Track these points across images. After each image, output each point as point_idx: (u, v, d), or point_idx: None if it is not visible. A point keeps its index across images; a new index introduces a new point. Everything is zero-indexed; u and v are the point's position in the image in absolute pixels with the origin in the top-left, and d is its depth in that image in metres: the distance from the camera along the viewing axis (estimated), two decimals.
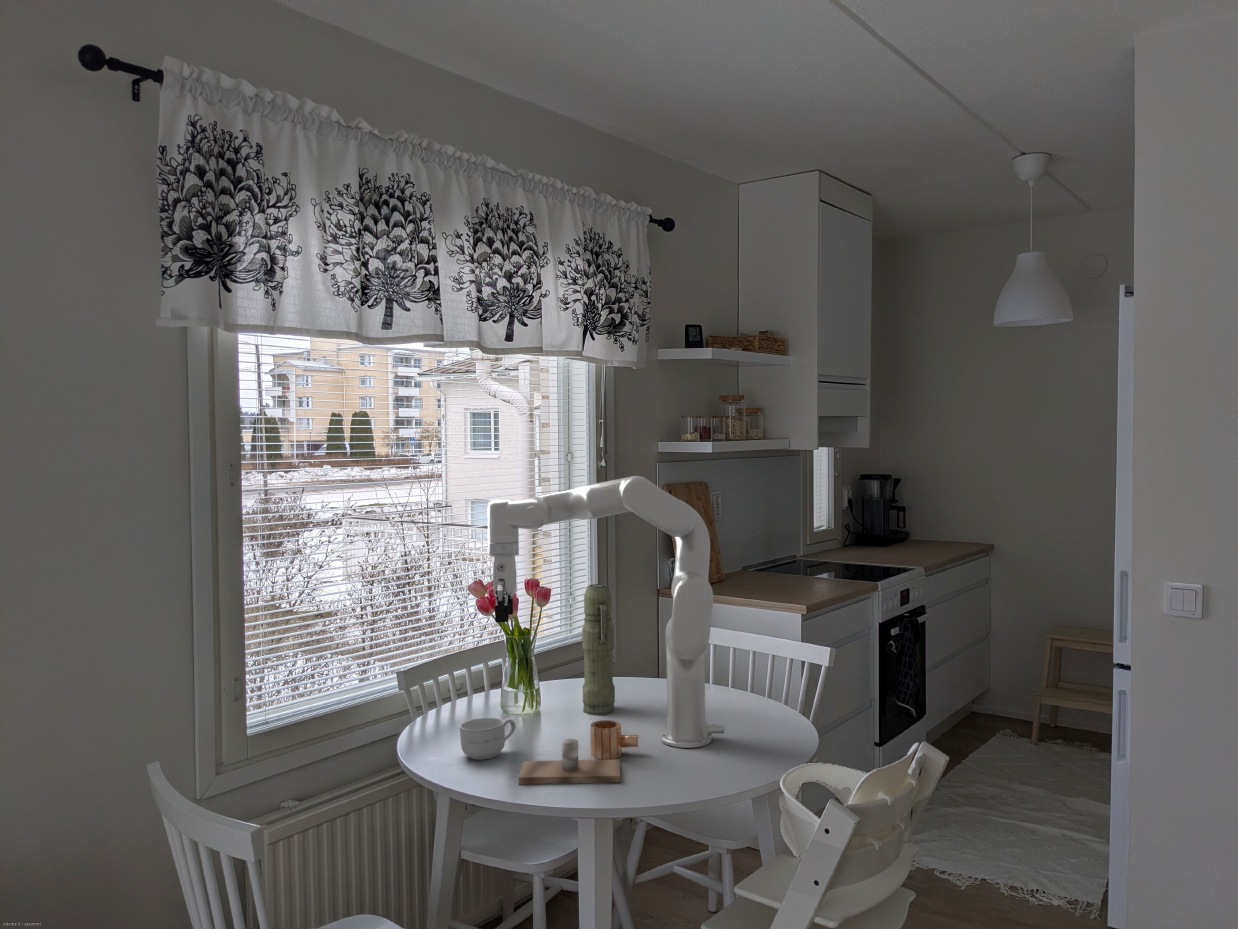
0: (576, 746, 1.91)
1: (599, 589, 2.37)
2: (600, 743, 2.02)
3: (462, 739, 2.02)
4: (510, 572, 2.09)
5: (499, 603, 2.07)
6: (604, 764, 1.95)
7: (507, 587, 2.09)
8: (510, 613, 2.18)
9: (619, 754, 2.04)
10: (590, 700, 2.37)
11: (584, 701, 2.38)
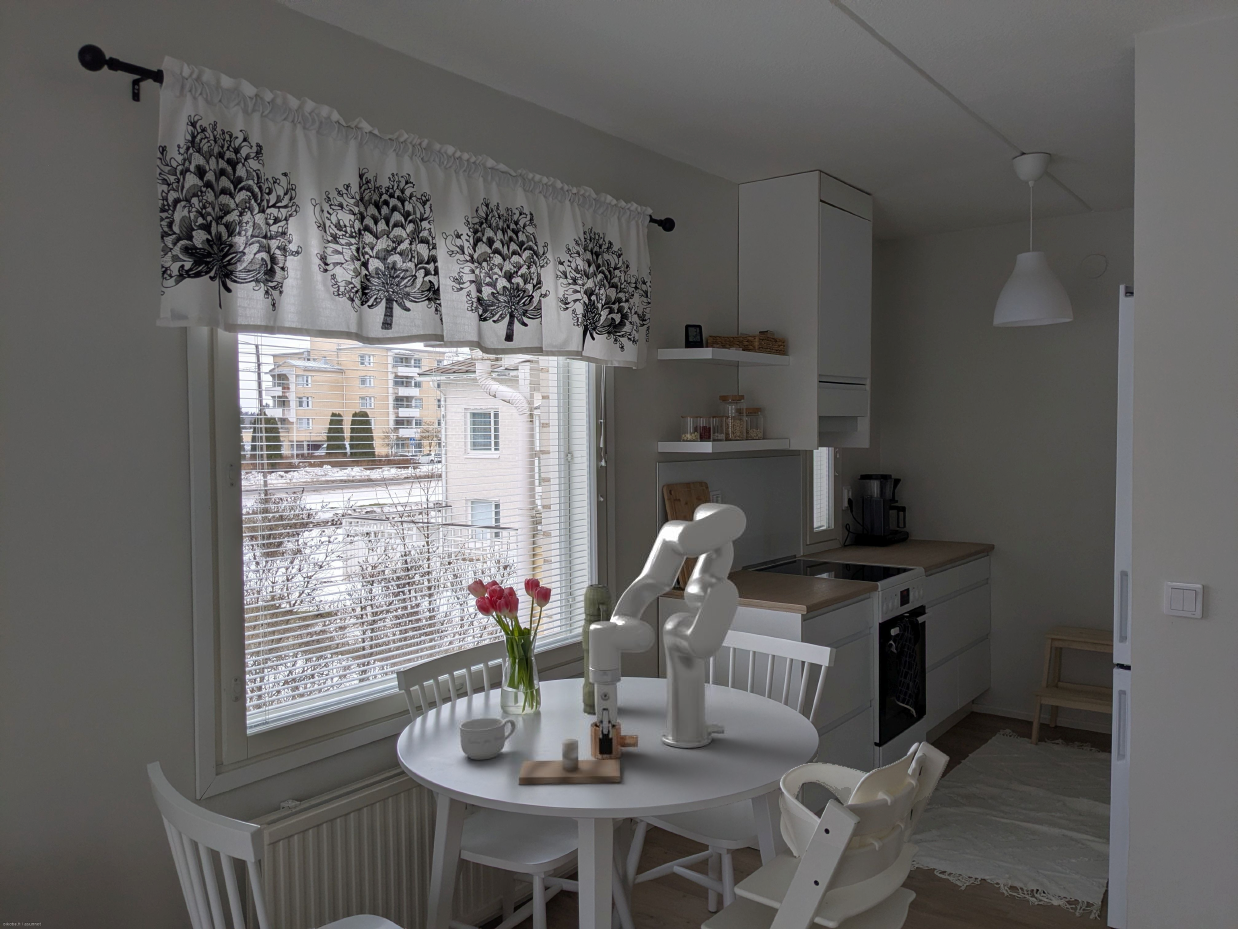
0: (576, 746, 1.91)
1: (599, 589, 2.37)
2: None
3: (462, 739, 2.02)
4: (614, 701, 2.01)
5: (604, 736, 2.00)
6: (604, 764, 1.95)
7: (611, 717, 2.00)
8: None
9: (619, 754, 2.04)
10: (590, 700, 2.37)
11: (584, 701, 2.38)
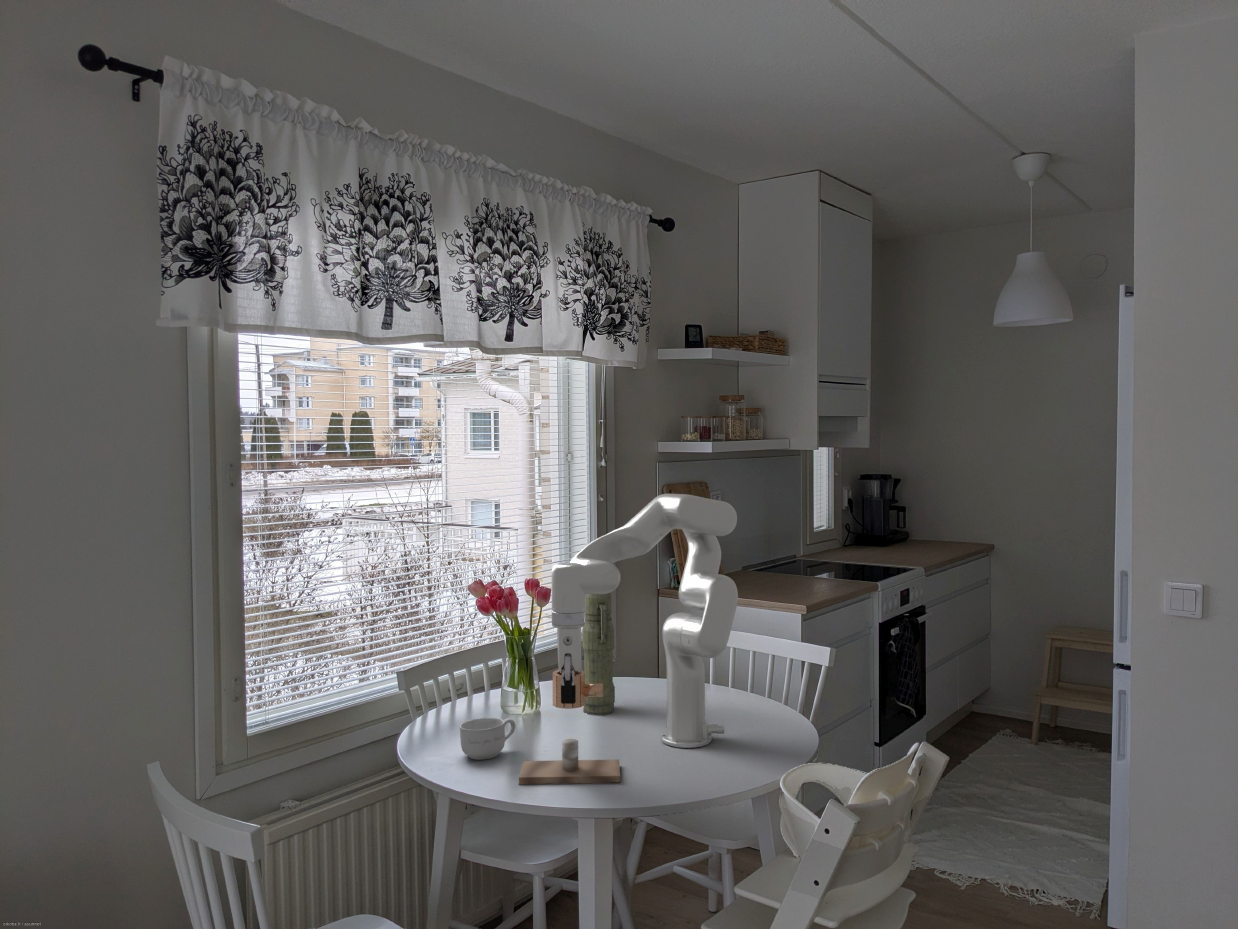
0: (576, 746, 1.91)
1: None
2: None
3: (462, 739, 2.02)
4: (577, 646, 1.87)
5: (566, 683, 1.86)
6: (604, 764, 1.95)
7: (574, 663, 1.87)
8: None
9: (583, 704, 1.90)
10: (590, 699, 2.37)
11: None
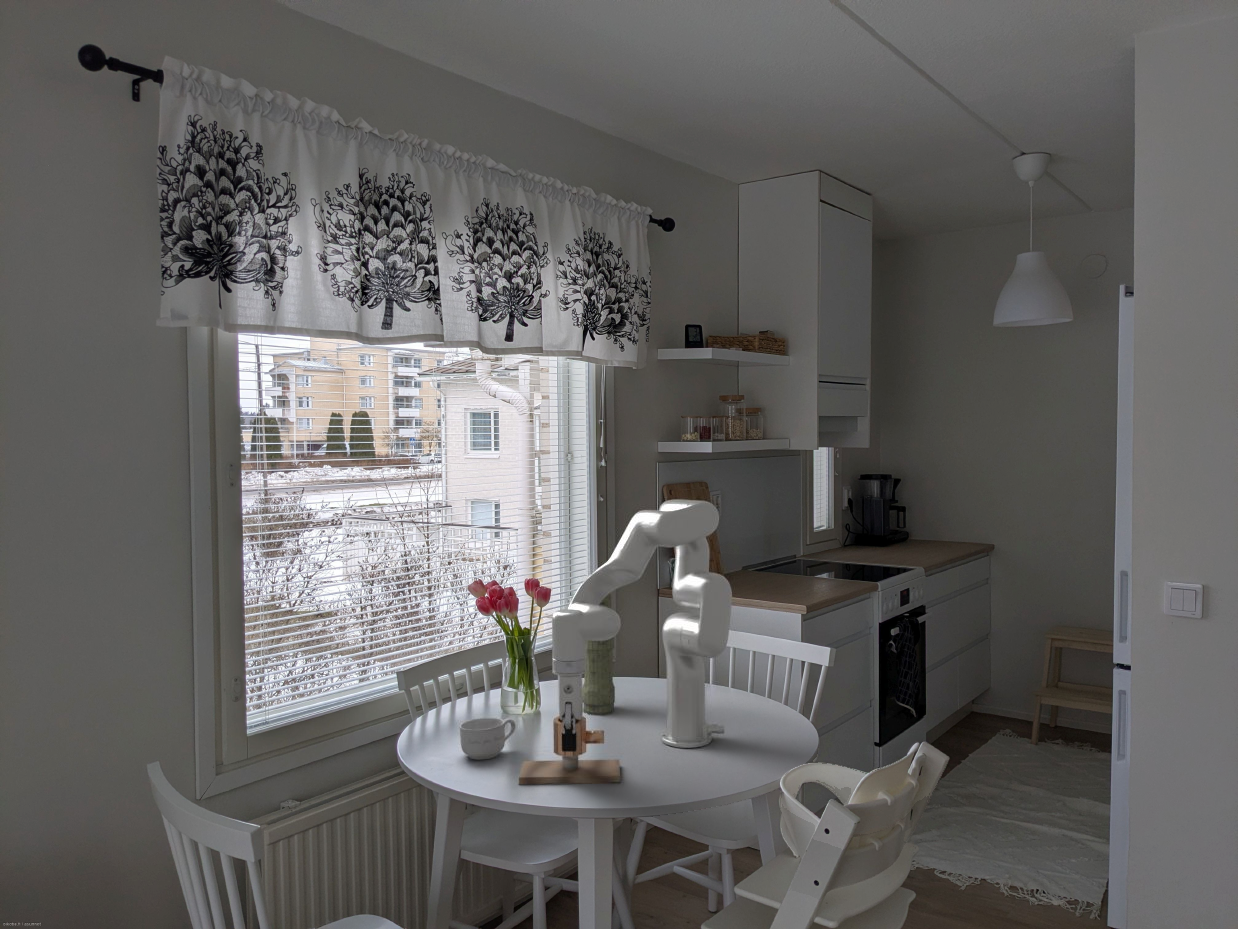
0: None
1: None
2: None
3: (462, 739, 2.02)
4: (578, 694, 1.88)
5: (567, 731, 1.87)
6: (604, 764, 1.95)
7: (575, 711, 1.87)
8: None
9: (584, 751, 1.91)
10: (590, 700, 2.37)
11: (584, 701, 2.38)
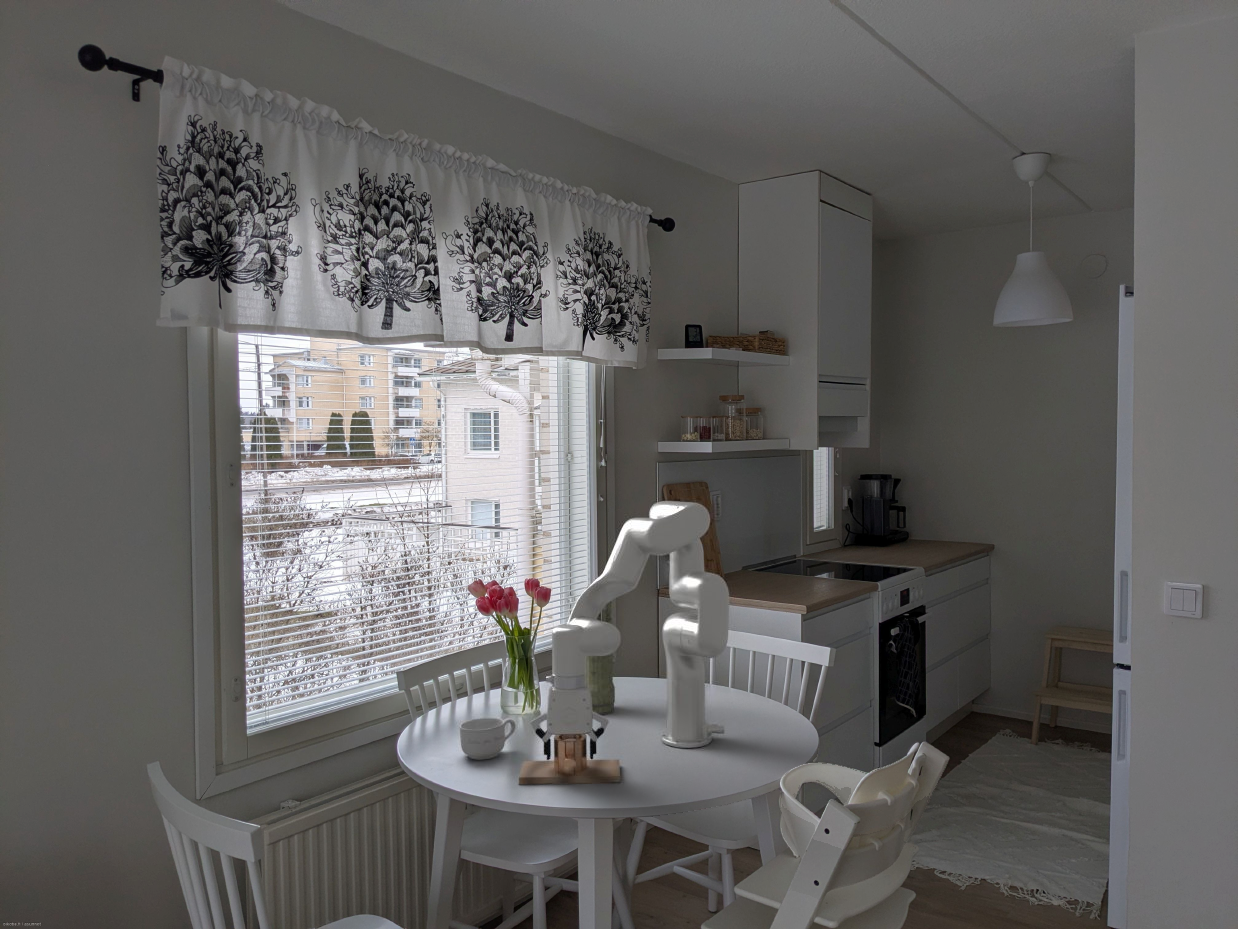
0: None
1: None
2: None
3: (462, 739, 2.02)
4: (547, 707, 1.90)
5: None
6: (604, 764, 1.95)
7: None
8: (590, 757, 1.91)
9: (562, 771, 1.89)
10: None
11: None
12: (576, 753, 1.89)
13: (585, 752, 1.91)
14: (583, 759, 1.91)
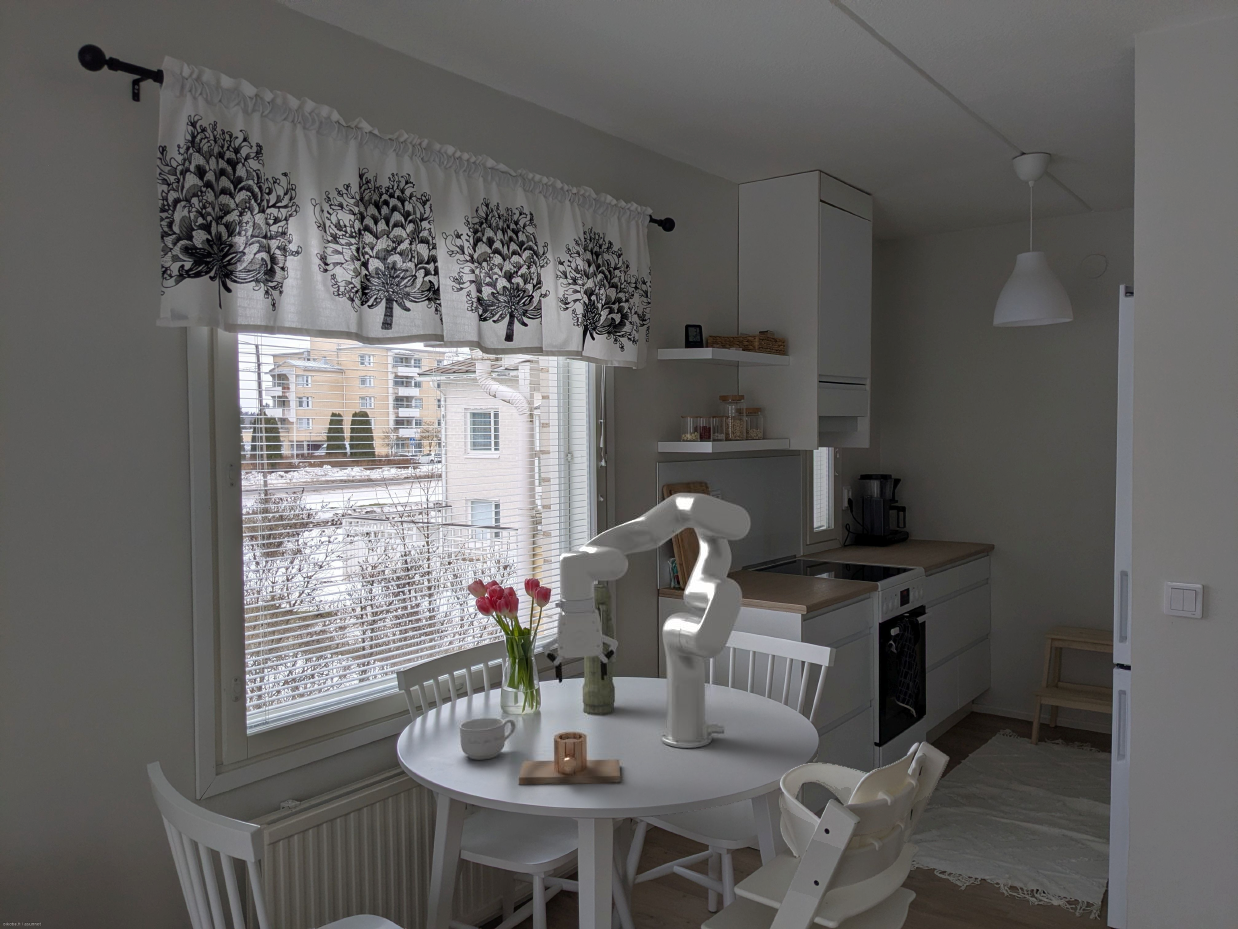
0: None
1: (599, 589, 2.37)
2: None
3: (462, 739, 2.02)
4: (558, 631, 1.94)
5: None
6: (604, 764, 1.95)
7: None
8: (601, 678, 1.96)
9: (562, 771, 1.89)
10: (590, 700, 2.37)
11: (584, 701, 2.38)
12: (576, 753, 1.89)
13: (585, 752, 1.91)
14: (583, 759, 1.91)
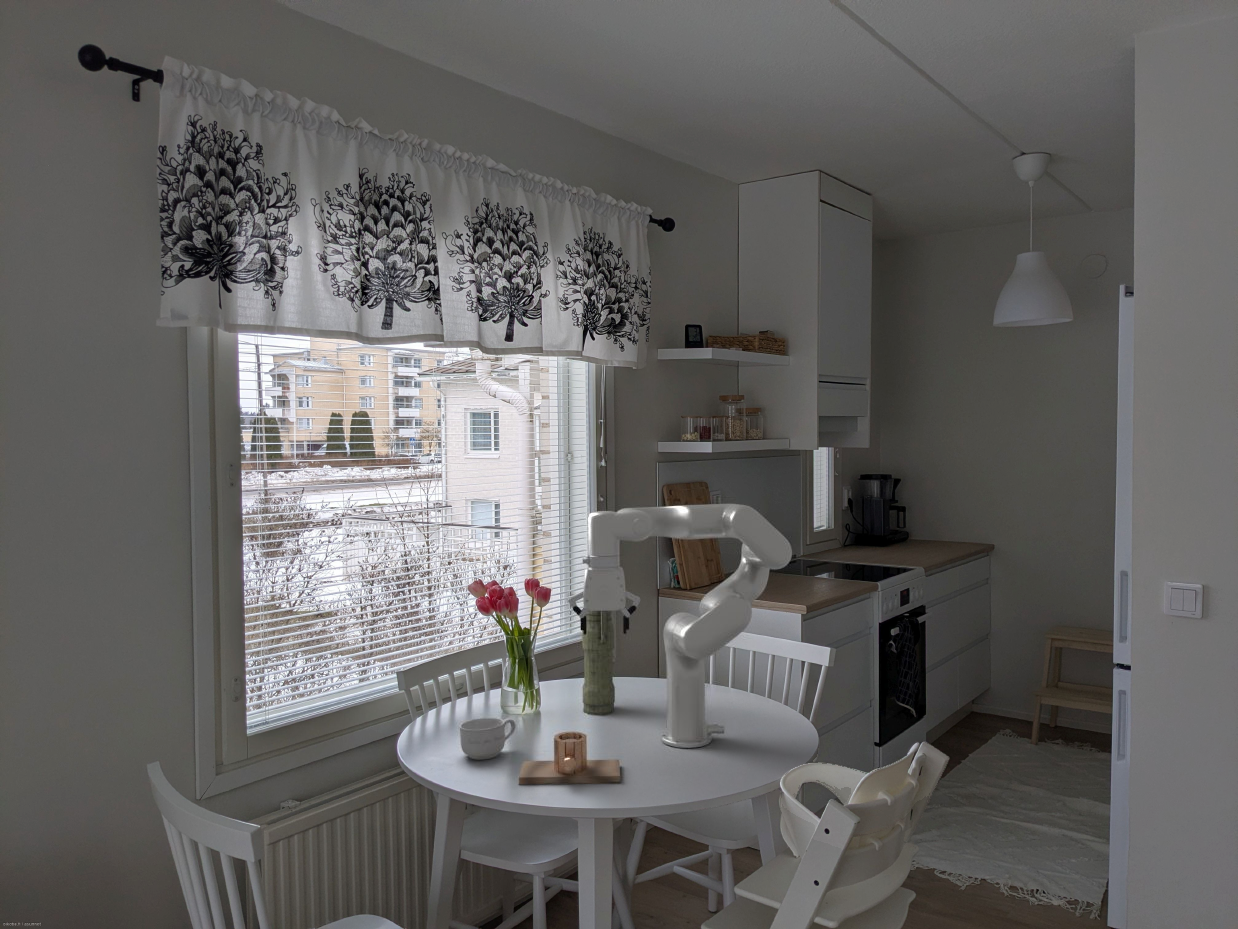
0: None
1: None
2: None
3: (462, 739, 2.02)
4: (584, 585, 2.06)
5: None
6: (604, 764, 1.95)
7: (583, 599, 2.07)
8: (623, 632, 2.07)
9: (562, 771, 1.89)
10: (590, 700, 2.37)
11: (584, 701, 2.38)
12: (576, 753, 1.89)
13: (585, 752, 1.91)
14: (583, 759, 1.91)
